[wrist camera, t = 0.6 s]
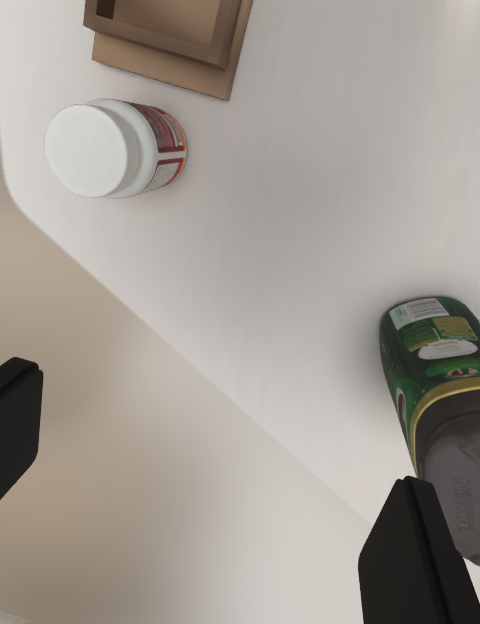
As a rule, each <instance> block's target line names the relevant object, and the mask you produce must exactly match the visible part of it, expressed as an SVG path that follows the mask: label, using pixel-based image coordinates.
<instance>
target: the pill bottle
mask: <svg viewBox="0 0 480 624" xmlns="http://www.w3.org/2000/svg"><path fill="white" fill-rule="evenodd" d="M45 155H46V159H47V162H48V165H49V167H50V169H51V171H52V173H53V175H54V176H55V178H56V179H57V180H58V181H59V182H60V183H61V184H62V185H63V186H64V187H65V188H66V189H67V190H69V191H70V192H72V193H74V194H76V195H79V196H82V197H86V198H99V197H104V198H108V199H123V198H128V197H131V196H134V195H137V194H140V193H144V192H147V191H150V190H154V189H157V188H160V187H163V186H165V185H167V184H169V183H171V182H172V181H173V180H175V179H176V178H177V177H178V175H179V174H180V173H181V171H182V169H183V167H184V164H185V161H186V155H187V146H186V139H185V136H184V134H183V131H182V129H181V128H180V126H179V124H178V123H177V122H176V121H175V120H174V118H173V117H171V116H170V115H169V114H167V113H166V112H164V111H163V110H160V109H158V108H155V107H150V106H145V105H140V104H134V103H129V102H124V101H120V100H116V99H97V100H94V101H90V102H88V103H86V104H76V105H72V106H69V107H66V108H64V109H62V110H61V111H59V112H58V113H57V114H56V115H55V116H54V117H53V119H52V120H51V122H50V124H49V126H48V128H47V131H46V135H45Z"/></svg>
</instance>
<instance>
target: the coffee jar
mask: <svg viewBox="0 0 480 624" xmlns="http://www.w3.org/2000/svg"><path fill="white" fill-rule="evenodd" d="M380 351H381V359H382V365H383V369H384V374H385V377H386V380H387V384H388V387H389V390H390V393H391V396H392V399H393V402H394V405H395V408H396V411H397V414H398V418H399V421H400V424H401V428H402V431H403V434H404V437H405V441H406V444H407V447H408V450H409V454H410V457H411V461H412V464H413V467H414V470H415V474H416V477H417V478H418V479H422V480H425V481H428V482H431V483H432V484H433V486H434V488H435V491H436V494H437V496H438V499H439V502H440V505H441V508H442V511H443V514H444V516H445V519H446V522H447V525H448V528H449V531H450V534H451V536H452V539H453V542H454V545H455V548H456V549H457V550H458V551H459V552H460V553H461V555H462V557H464V558H466V559H468V560H469V561H471V562H472V563H474V564H475V565H477V566H480V322H479V321H478V319H477V318H476V317H475V316H474V314H473V313H472V312H471V311H470V310H469V309H468V308H467V307H466V306H465V305H464V304H463V303H461V302H460V301H457V300H454V299H451V298H427V299H420V300H415V301H411V302H408V303H404V304H402V305H399V306H397V307H395V308H393V309H392V310H391V311H389V312H388V313H387V315H386V316H385V317H384V319H383V321H382V323H381V326H380Z"/></svg>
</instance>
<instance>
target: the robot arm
mask: <svg viewBox="0 0 480 624" xmlns="http://www.w3.org/2000/svg"><path fill="white" fill-rule="evenodd" d="M42 388H43V372H42V371H41V370H39V366H38V364H37V363H35V362H32V361H28V360H25V359H22V358H18V357H13V358H11V359H9V360H8V361H7V362H5V363H4V364H2V365H1V366H0V500H1V498H2V497H3V496H4V495H5V494H6V493H7V492H8V491H9V490H10V488H11V487H12V486H13V485H14V484H15V483H16V482H17V480H18V479H19V478H20V477H21V476H22V475H23V474H24V473H25V472H26V470H27V469H28V468H29V467H30V466H31V465H32V463H33V462H34V460H35V458H36V456H37V452H38V443H39V429H40V415H41V402H42ZM358 572H359V582H360V590H361V602H362V611H363V621H364V624H480V603H479V600H478V598H477V595H476V592H475V589H474V586H473V584H472V581H471V578H470V575H469V573H468V570H467V567H466V564H465V562H464V559H463V557H462V555H461V553H460V552H459V551H458V550H457V549H456V548H455V545H454V542H453V539H452V536H451V534H450V531H449V528H448V525H447V522H446V519H445V516H444V514H443V511H442V508H441V505H440V502H439V499H438V496H437V494H436V491H435V488H434V486H433V484H432V483H431V482H428V481H425V480H422V479H418V478H415V477H412V476H406V477H405V478H404V479H403V480H401V479H398V480H396V482H395V484H394V486H393V488H392V490H391V492H390V494H389V496H388V498H387V500H386V502H385V504H384V506H383V508H382V510H381V512H380V514H379V516H378V518H377V520H376V522H375V524H374V526H373V528H372V530H371V532H370V534H369V536H368V538H367V540H366V543H365V544H364V546H363V549H362V551H361V553H360V556H359V561H358ZM0 624H36V623H33V622H30V621H27V620H24V619H21V618H18V617H15V616H12V615H9V614H6V613H3V612H0Z"/></svg>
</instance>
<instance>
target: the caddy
mask: <svg viewBox="0 0 480 624" xmlns="http://www.w3.org/2000/svg"><path fill="white" fill-rule="evenodd" d="M251 4H252V0H86V3H85V12H84V22H83V26H85V27H87V28H90V29H92V30H94V31H95V36H94V45H93V53H92V60H94V61H97V62H99V63H102V64H106V65H109V66H112V67H116V68H119V69H122V70H126V71H129V72H133V73H136V74H139V75H143V76H146V77H149V78H153V79H156V80H159V81H163V82H166V83H169V84H173V85H176V86H179V87H183V88H186V89H190V90H193V91H196V92H200V93H203V94H206V95H210V96H213V97H216V98H220V99H223V100H226V101H229V97H230V93H231V89H232V84H233V80H234V76H235V72H236V68H237V63H238V59H239V55H240V51H241V46H242V42H243V38H244V34H245V30H246V25H247V21H248V17H249V13H250V9H251Z"/></svg>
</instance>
